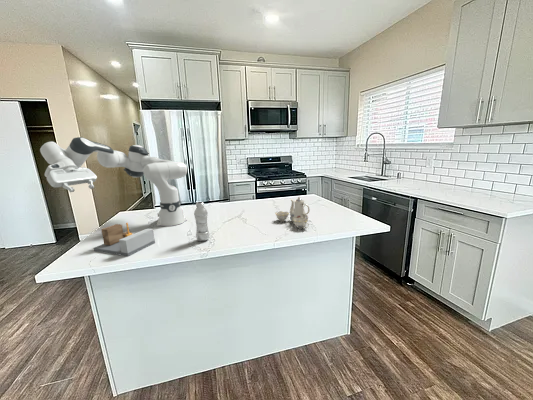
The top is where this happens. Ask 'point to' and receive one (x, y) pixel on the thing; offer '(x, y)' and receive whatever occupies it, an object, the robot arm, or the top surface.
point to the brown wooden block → (113, 234)
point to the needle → (128, 231)
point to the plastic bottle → (201, 222)
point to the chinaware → (295, 214)
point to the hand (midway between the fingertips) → (82, 189)
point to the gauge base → (117, 249)
